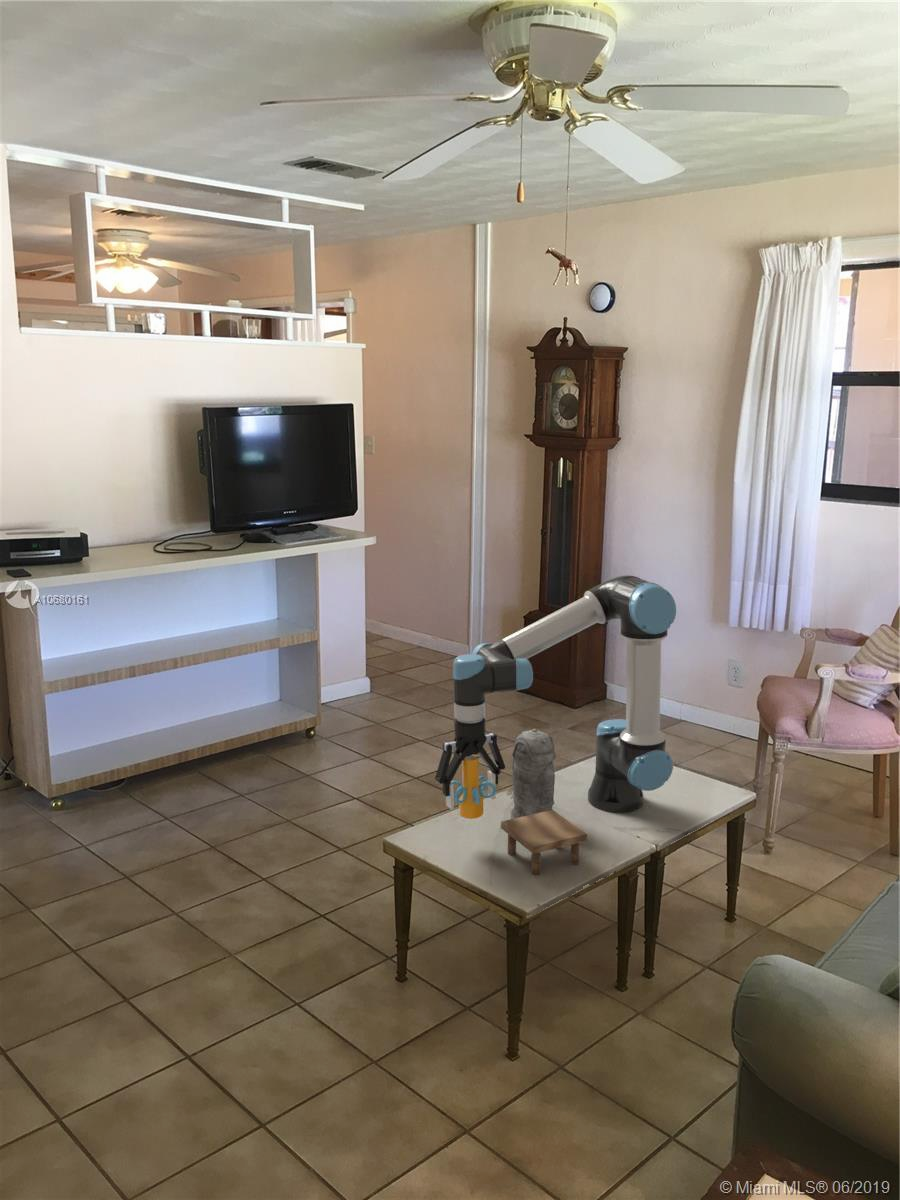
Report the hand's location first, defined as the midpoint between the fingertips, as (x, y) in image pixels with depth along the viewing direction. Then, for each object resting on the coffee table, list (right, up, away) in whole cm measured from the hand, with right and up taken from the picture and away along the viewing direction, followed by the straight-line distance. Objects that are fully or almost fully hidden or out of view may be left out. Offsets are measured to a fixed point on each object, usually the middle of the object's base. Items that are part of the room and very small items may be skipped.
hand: (471, 802), depth 238 cm
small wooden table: (+17, -13, -4) cm, 22 cm away
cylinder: (0, -3, +1) cm, 3 cm away
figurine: (+16, -8, +17) cm, 25 cm away
